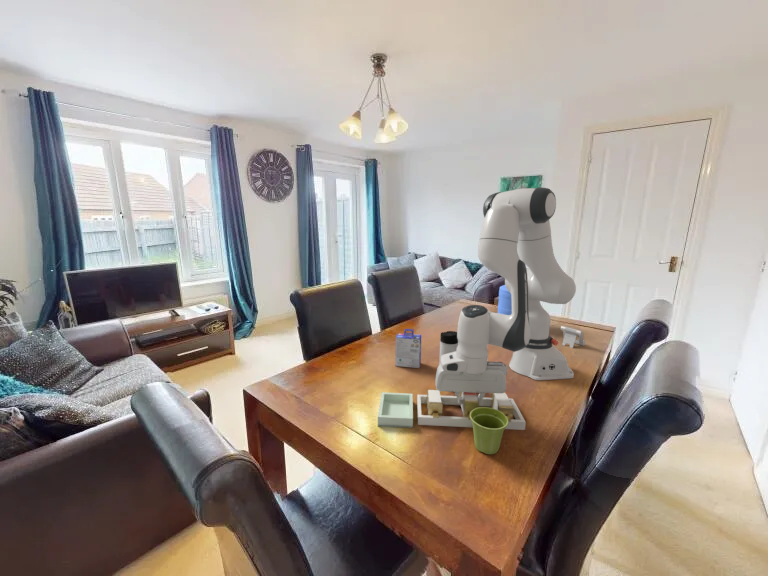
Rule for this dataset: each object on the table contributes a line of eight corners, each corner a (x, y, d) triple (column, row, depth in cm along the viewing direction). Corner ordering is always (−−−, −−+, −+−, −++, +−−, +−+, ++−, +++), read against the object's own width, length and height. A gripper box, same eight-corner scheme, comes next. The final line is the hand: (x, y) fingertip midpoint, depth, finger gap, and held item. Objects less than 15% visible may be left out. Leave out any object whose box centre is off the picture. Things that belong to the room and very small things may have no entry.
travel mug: (446, 391, 111) (449, 336, 106) (434, 382, 117) (436, 330, 112) (460, 387, 114) (463, 333, 109) (448, 378, 119) (451, 327, 115)
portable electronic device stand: (584, 345, 149) (587, 328, 147) (577, 349, 145) (579, 332, 143) (565, 339, 156) (567, 323, 154) (557, 343, 151) (559, 326, 149)
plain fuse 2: (503, 408, 102) (505, 391, 100) (511, 425, 93) (513, 407, 92) (491, 408, 102) (492, 390, 101) (498, 425, 94) (499, 406, 92)
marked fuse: (472, 403, 102) (473, 385, 101) (477, 420, 94) (479, 401, 92) (459, 403, 102) (460, 385, 101) (464, 419, 94) (465, 400, 93)
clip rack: (512, 405, 103) (513, 396, 102) (525, 430, 91) (526, 419, 91) (417, 401, 105) (417, 392, 105) (417, 424, 94) (418, 414, 93)
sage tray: (412, 401, 105) (412, 393, 104) (412, 428, 92) (412, 418, 92) (381, 400, 106) (381, 392, 105) (377, 426, 93) (377, 417, 92)
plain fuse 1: (439, 405, 103) (439, 388, 102) (441, 422, 95) (442, 404, 94) (426, 405, 103) (427, 388, 102) (428, 421, 95) (428, 403, 94)
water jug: (532, 331, 166) (538, 277, 160) (501, 331, 167) (506, 277, 160) (520, 321, 182) (525, 272, 175) (492, 321, 182) (496, 272, 175)
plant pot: (461, 437, 89) (463, 409, 87) (492, 432, 91) (495, 404, 89) (478, 462, 80) (481, 431, 78) (512, 456, 82) (516, 426, 80)
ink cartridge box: (421, 362, 133) (422, 328, 129) (419, 368, 127) (420, 333, 124) (397, 360, 134) (397, 327, 131) (394, 366, 129) (395, 332, 126)
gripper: (504, 357, 97) (501, 398, 100) (435, 355, 98) (434, 396, 101) (511, 367, 91) (507, 411, 94) (437, 365, 92) (435, 408, 95)
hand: (468, 403), depth 98 cm, fingers closed on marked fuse, 3 cm apart
